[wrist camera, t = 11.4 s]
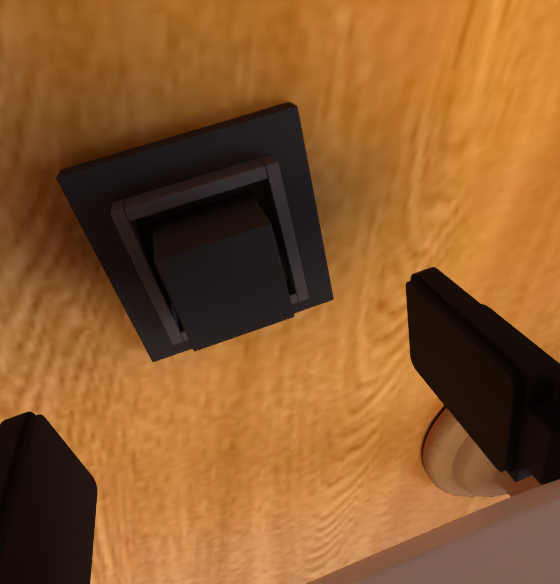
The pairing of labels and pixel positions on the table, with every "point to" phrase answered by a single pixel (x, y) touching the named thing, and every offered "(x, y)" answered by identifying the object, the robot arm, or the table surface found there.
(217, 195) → the base pad
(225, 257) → the black block
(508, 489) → the candle holder
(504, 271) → the table surface
